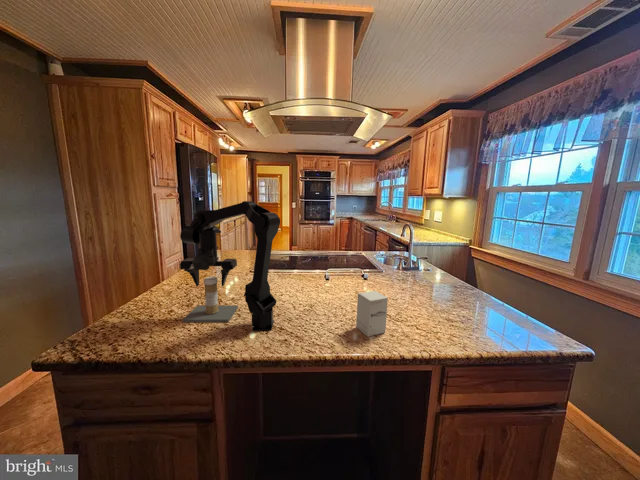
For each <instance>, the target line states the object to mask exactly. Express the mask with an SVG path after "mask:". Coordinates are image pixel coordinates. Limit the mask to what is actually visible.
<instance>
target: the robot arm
mask: <svg viewBox="0 0 640 480" xmlns="http://www.w3.org/2000/svg"><path fill="white" fill-rule="evenodd" d="M240 216H245V217H246V219H247V220H248V221H249V222H250V223H251V224H253V227H254V228H253V229H254V233H255V237H256V239H257V241H256V249H255V260H254V265H253V274H252V280H251V281H250V282H249V283H247V284H245V287H244V294H243V297H244V299H245V300H244V301H245V302H246V304H247V307H248V311H249V313H250V314H251V326H252V328H251V329H252V331H272V330H273V327H274V322H275V320H274V307H276V305H277V299H276V298H275V297H274V296H273V294H272V293H271V286H270V284H269V281H268V277H269V270H270V269H269V268H270V263H271V261H270V260H271V256H272V247H273V242H274V239H275V237H276V236H277V234H278V232H279V228H280V225H281V218H280V217H279V215H278V214H277V213H275V212H271V211H270V210H269V209H266V208H264V207H263V206H261V205H259V204H257V203H256V202H254V201H252V200H246V201H245V200H244V201H241V202H240V203H235V204H233V205H232V204H231V205H229V206H225V207H221V208H218V209H207V210H206V209H205V210H198V211H196V212H195V215H194V216H193V219H192V221H191V222H190V224H185V225H184V228H183V229H182V230H181V232H180V234H179V236H180V240H181V241H182V242H183V243H184V244H193V245H199V248H198V250H197V255H196V256H195V257H192V258H191V257H189V258H185V259H183V260H181V261H180V262H179V269H180V270H183V271H184V272H187V273H189V275H190V276H191V278H192V280H193V283H195V286H196V287H199V285H200V271H201V270H202V271H207V270H209V269H210V267H220V268H221V270H220V272H221V287H224V286H225V283H226V280H227V278H228V275H229V273H230V271H231V270H234V269H235V268H236V267H237V266H238V260H237V259H236V258H225V259H223V260H219V256H218V249H219V246H218V244H217V241H218V240H217V234H221V233H222V231H221V230H220V229H219V228H218V227H217V225H219V224H221V223H222V222H224V221H225V220H228V219H232V218H236V217H240Z"/></svg>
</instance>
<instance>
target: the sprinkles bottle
mask: <svg viewBox="0 0 640 480" xmlns="http://www.w3.org/2000/svg"><path fill="white" fill-rule="evenodd" d="M203 284H204V298H205V299H204V302H205V303H204V304H205V305H206V313H207V314H215V313H217V312H218V311H219V310H218V305H219V295H218V294H219V293H218V277H217V276H207V277H204V278H203Z"/></svg>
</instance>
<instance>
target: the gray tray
mask: <svg viewBox="0 0 640 480" xmlns="http://www.w3.org/2000/svg"><path fill="white" fill-rule="evenodd" d="M238 308H239V305H231V304H230V305H227V304H226V305H222V304H221V305H219V304H218V310H219V311H218V312H217V313H215V314H207V313H206V304H205V305H196V306H195V308H193V309H192V310H191V311H190V312H189V313H188V314H187V315H186V316H185V317H184V318H183V319H182V323H229V322H230V320H231V319H232V317H233V316H234V315H235V313H236V312H237V310H238Z"/></svg>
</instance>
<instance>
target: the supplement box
mask: <svg viewBox="0 0 640 480" xmlns="http://www.w3.org/2000/svg"><path fill="white" fill-rule="evenodd" d="M356 300H357V302H356V303H357V304H356V322H355V323H356V324H355V327H356V328H357V329H358V330H359V331H360V332H361V333H362V334H364V335H365V336H366V337H367V338H368V337H372V336H376V335H380V334H384V333H386V330H387V328H386V327H387V317H388V316H387V313H388V312H387V311H388V301H389V300H388V297H387V296H386V295H384V294H382V293H380V292H378V291H377V290H373V291H372V290H371V291H365V292H358V293H357V299H356Z"/></svg>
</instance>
